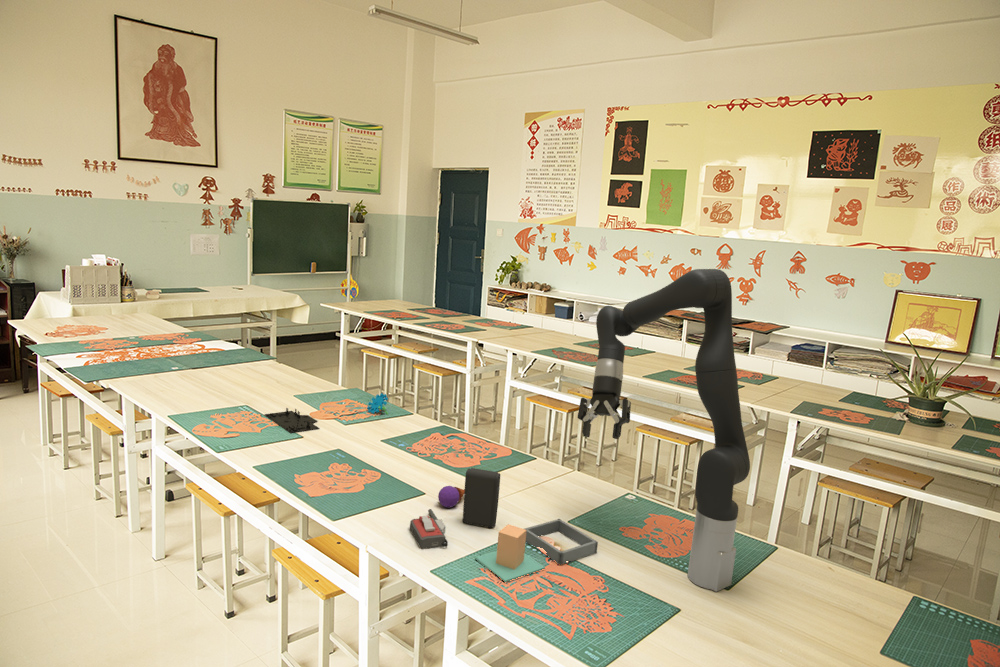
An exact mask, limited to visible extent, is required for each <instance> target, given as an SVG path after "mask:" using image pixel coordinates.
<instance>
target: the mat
mask: <svg viewBox="0 0 1000 667" xmlns="http://www.w3.org/2000/svg"><path fill="white" fill-rule="evenodd" d="M496 557H497V550H494V551H491V552H488V553H485V554H482V555H481V554H480V555H478V556H475V557H474V560H475V559H476V560H477V561H476V560H475V561H476V562H478V563H479V562H480V563H481V564H482V565H481V564H480V563H479V564H480V565H481V566H483V565H484V566H485V567H486V568H485V567H484V566H483V567H484V568H485V569H487V568H488V569H489V570H491V571H492V572H493V573H494V574H496V575H497V576H498V577H500V578H501V579H502V580H504V582H507V581H510V580H512V579H516V578H518V577H521V576H524V575H527V574H530V573H533V572H536V571H539V570H542V569H545V570H546V566H544V565H542V564H541V563H540V562H538V561H536V559H534V558H532V557H531V556H529V555H528V554H526V552H524V561H523V562H522V563H521V564H520V565H519V566H518V567H517V568H516V569H515V570H514V569H511V568H508V567H505V566H503V565H500V564H497V563H496ZM488 569H487V570H488ZM489 570H488V571H489ZM542 571H543V570H542ZM492 572H491V573H492ZM539 572H540V571H539ZM493 573H492V574H493ZM536 573H537V572H536ZM494 574H493V575H494ZM533 574H534V573H533ZM497 576H496V577H497ZM498 577H497V578H498ZM502 580H501V581H502ZM516 580H517V579H516ZM504 582H503V583H504ZM510 582H511V581H510ZM507 583H508V582H507Z"/></svg>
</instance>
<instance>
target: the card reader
mask: <svg viewBox="0 0 1000 667" xmlns="http://www.w3.org/2000/svg"><path fill="white" fill-rule="evenodd" d="M500 484H501V473H500V472H498V471H492V470H487V469H481V468H475V467H471V468H467V470H466V471H465V481H464V489H465V490H464V489H463V490H464V495H463V506H462V508H463V509H462V511H463V512H462V522H463V523H465V524H468V525H474V526H479V527H483V528H484V527H485V528H488V529H489V528H490V529H491V528H495V527H496V523H497V516H498V509H499V497H500V496H499V495H500V486H501V485H500Z"/></svg>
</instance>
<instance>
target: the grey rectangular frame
mask: <svg viewBox="0 0 1000 667" xmlns="http://www.w3.org/2000/svg"><path fill="white" fill-rule="evenodd" d="M524 529H525V530H527V531H526V542H525V543H527V542H528V543H529V544H528V543H527V544H528V545H530V544H531V545H533V546H535V547H540V548H543V549H544V550H545V551H546V552H547V553H546V554H547V555H548V556H549V557H550V558H551V559H550V558H549V557H548V558H549V559H550V560H552V559H553V560H555V561H556V562H557V563H556V562H555V561H554V562H555V563H556V564H557V565H559V564H560V565H559V566H561V564H562V565H565V564H566V563H565V562H566V561H571V562H574V561H576V560H579V559H582V558H586V557H589V556H591V555H594V554H595V555H596V554H597V553H598V546H599V541H597V540H596V539H594V538H592V537H591V536H589V535H587V534H585V533H584V532H582V531H580V530H579V529H577V528H576V527H574V526H573V525H570V524H569V523H568V522H566V521H564V520H562V519H560V518H557V519H554V520H550V521H547V522H543V523H540V524H536V525H532V526H530V527H526V528H524ZM556 532H559V533H561V534H563V535H564V536H566V537H567V538H569V539H570V540H572V541H574V543H577V544H578V546H574V547H571V548H569V549H565V550H560V549H559V548H557V547H555V546H554V545H552V544H551V543H549V542H548V541H546V540H545V539H543V538H542V536H541V535H543V536H545V535H548V534H552V533H556ZM538 536H539V537H538ZM531 545H530V546H531ZM533 546H532V547H533ZM553 560H552V561H553ZM564 563H565V564H564Z"/></svg>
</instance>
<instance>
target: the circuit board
mask: <svg viewBox="0 0 1000 667" xmlns="http://www.w3.org/2000/svg"><path fill="white" fill-rule="evenodd" d="M264 416H265V417H266V418H268V419H269V420H270V421H271V422H273V423H275V425H278V426H279V427H281V428H282V429H284V431H286V432H288V433H289V434H296V433H302V432H310V431H316V430H320V427H318V426H317V425H316V423H318V420H316V419H315V418H314V417H312V416H310V415H308V414H301V412H300V411H299V410H297V408H294V410H289V408H288V407H286V408H285V411H280V412H273V413H272V412H271V413H264Z"/></svg>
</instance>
